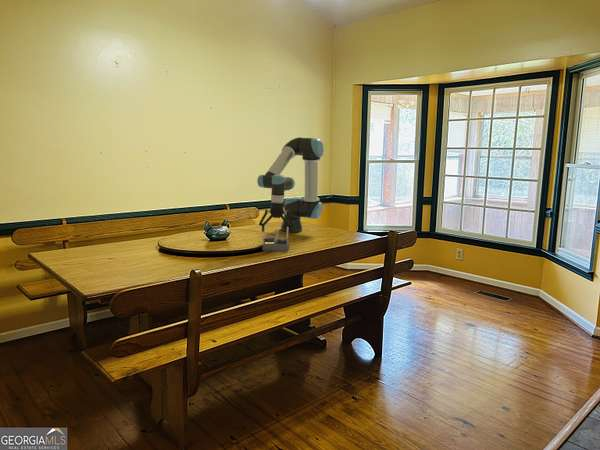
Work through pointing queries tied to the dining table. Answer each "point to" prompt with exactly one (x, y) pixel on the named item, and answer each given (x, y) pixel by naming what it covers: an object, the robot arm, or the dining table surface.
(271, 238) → the pipe connector
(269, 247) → the tray
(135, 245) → the dining table surface
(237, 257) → the dining table surface
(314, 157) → the robot arm
